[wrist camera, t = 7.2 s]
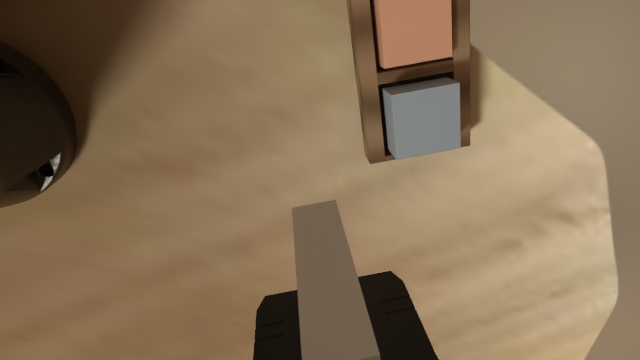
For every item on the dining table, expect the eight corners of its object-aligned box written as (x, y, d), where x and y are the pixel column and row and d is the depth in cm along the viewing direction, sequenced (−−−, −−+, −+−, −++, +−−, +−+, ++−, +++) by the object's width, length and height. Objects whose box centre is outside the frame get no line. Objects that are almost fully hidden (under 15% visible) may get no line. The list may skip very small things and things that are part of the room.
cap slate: (388, 149, 39) (396, 160, 37) (382, 88, 37) (390, 95, 34) (447, 137, 39) (460, 148, 37) (446, 76, 37) (459, 82, 34)
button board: (459, 137, 42) (470, 145, 39) (365, 154, 41) (370, 163, 39) (455, -148, 32) (469, -160, 29) (331, -127, 31) (335, -137, 29)
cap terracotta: (376, 63, 37) (384, 68, 35) (369, -7, 35) (377, -8, 32) (439, 52, 37) (452, 56, 35) (437, -19, 35) (450, -20, 32)
